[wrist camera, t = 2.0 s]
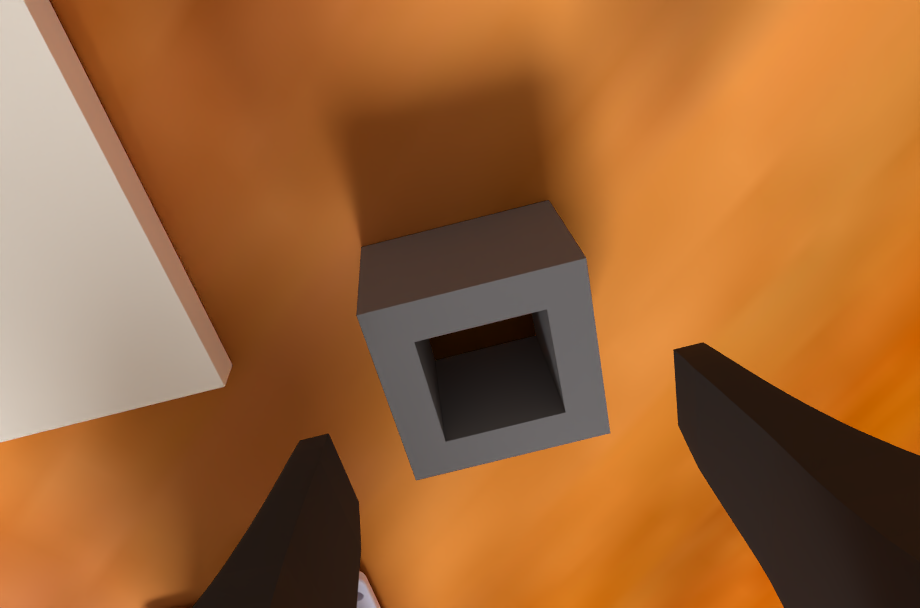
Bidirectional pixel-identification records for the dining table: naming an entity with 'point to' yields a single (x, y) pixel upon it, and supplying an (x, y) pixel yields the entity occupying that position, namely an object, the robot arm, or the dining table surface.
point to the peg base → (82, 252)
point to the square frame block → (493, 368)
